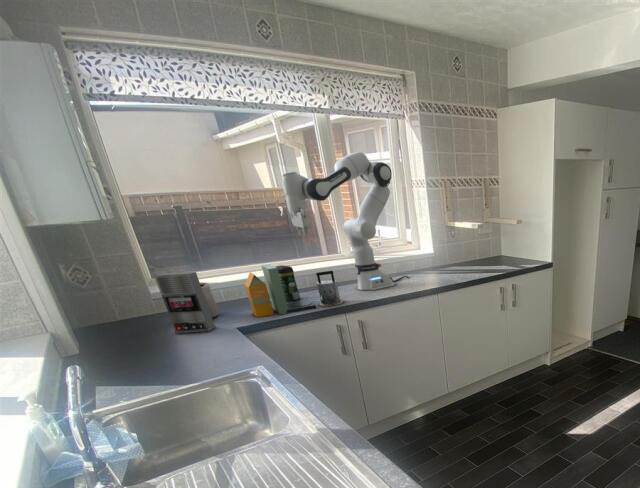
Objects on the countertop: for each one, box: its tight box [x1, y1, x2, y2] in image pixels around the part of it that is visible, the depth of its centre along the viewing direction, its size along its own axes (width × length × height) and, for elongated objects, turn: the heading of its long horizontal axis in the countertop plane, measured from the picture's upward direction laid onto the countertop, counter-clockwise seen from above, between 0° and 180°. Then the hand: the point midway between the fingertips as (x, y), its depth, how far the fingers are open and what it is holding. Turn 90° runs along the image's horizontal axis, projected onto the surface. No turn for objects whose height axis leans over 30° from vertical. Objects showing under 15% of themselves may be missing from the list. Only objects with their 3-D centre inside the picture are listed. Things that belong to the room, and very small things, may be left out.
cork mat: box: [319, 299, 344, 307], centre depth 224 cm, size 12×12×1 cm
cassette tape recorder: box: [153, 271, 216, 335], centre depth 181 cm, size 14×6×25 cm, turn 99°
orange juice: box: [244, 272, 275, 318], centre depth 205 cm, size 8×9×20 cm
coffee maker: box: [261, 263, 317, 315], centre depth 213 cm, size 18×15×22 cm
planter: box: [200, 282, 220, 320], centre depth 201 cm, size 18×18×16 cm
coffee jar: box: [275, 264, 301, 302], centre depth 230 cm, size 10×8×19 cm
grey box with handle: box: [315, 270, 342, 305], centre depth 220 cm, size 10×12×16 cm
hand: (304, 236), depth 220 cm, fingers open, 8 cm apart
